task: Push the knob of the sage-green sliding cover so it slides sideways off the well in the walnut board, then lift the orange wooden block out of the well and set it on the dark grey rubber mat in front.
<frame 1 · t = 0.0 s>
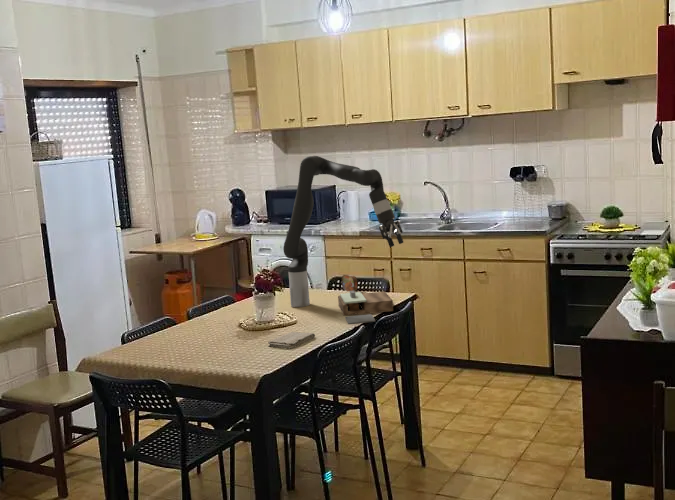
hand: (396, 244, 344), 31 cm above the table, tool tilted 20°, fingers open, 8 cm apart
cover: (352, 295, 362), point 7 cm above the table, slide at 0.0 cm
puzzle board: (366, 308, 363), on the table
tin: (350, 291, 407), on the table
washcloth: (291, 343, 313), on the table
rubber mat: (360, 319, 342), on the table
block: (353, 309, 363), resting in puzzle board
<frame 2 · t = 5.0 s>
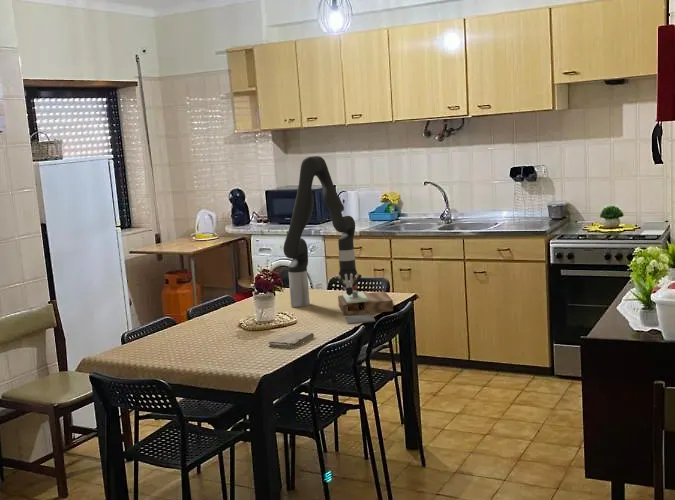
hand: (349, 295, 361), 7 cm above the table, tool pointing down, fingers closed
cover: (355, 294, 362), point 7 cm above the table, slide at 1.1 cm, touching gripper
everything else where it was.
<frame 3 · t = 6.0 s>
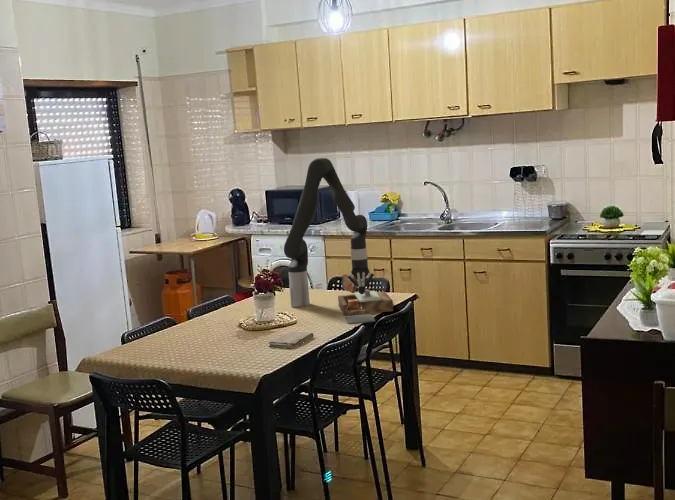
hand: (361, 293, 362), 7 cm above the table, tool pointing down, fingers closed
cover: (367, 293, 362), point 7 cm above the table, slide at 6.9 cm, touching gripper
everything else where it was.
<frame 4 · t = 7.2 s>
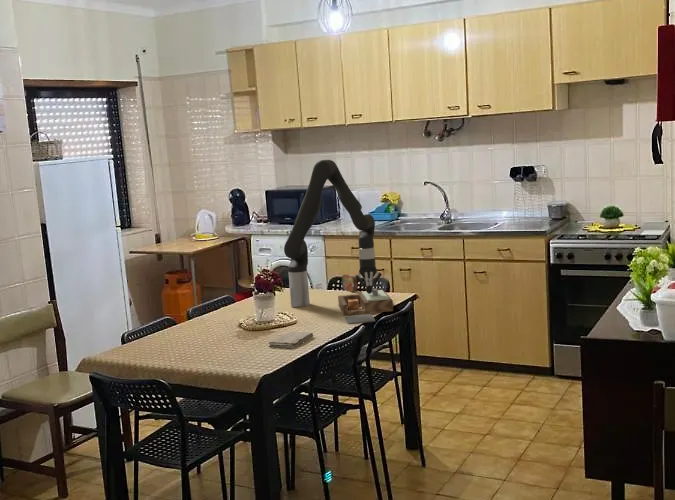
hand: (369, 293, 362), 7 cm above the table, tool pointing down, fingers closed
cover: (374, 293, 363), point 7 cm above the table, slide at 10.6 cm, touching gripper
everything else where it was.
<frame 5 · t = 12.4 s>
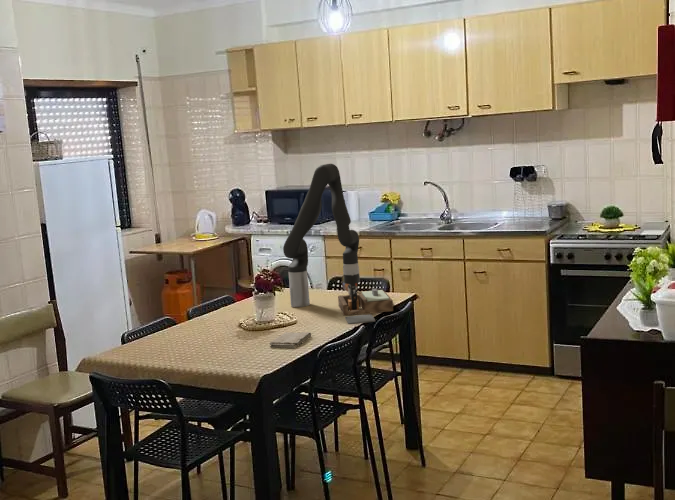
hand: (353, 308, 363), 1 cm above the table, tool pointing down, fingers closed on block, 4 cm apart
cover: (374, 293, 363), point 7 cm above the table, slide at 10.6 cm
block: (353, 309, 363), resting in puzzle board, touching gripper
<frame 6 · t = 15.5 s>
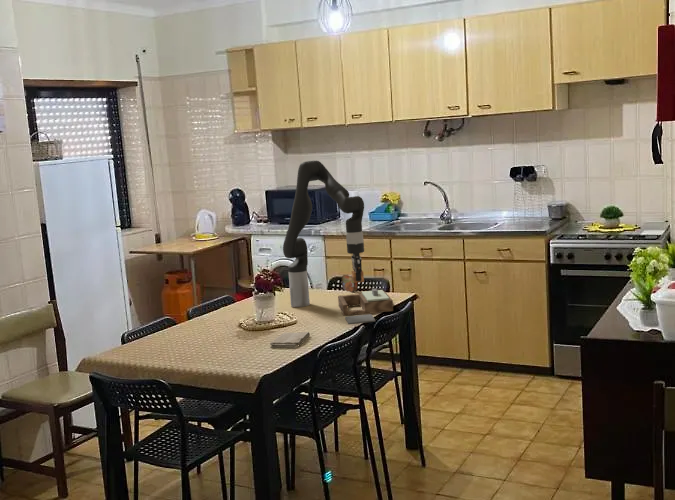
hand: (358, 279, 340), 18 cm above the table, tool pointing down, fingers closed on block, 4 cm apart
block: (358, 281, 341), point 17 cm above the table, touching gripper
when the fingers open (3 cm above the table, at t = 18.9 s): block drops 1 cm, resting on rubber mat.
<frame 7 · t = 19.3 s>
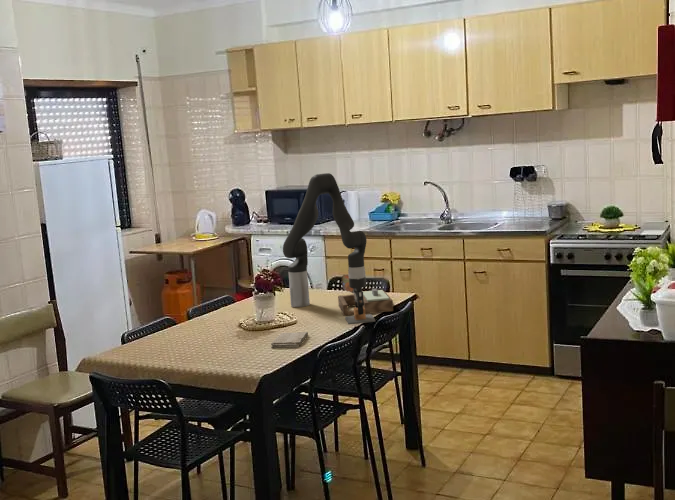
hand: (359, 312, 342), 3 cm above the table, tool pointing down, fingers open, 8 cm apart
block: (360, 318, 342), point 1 cm above the table, touching rubber mat
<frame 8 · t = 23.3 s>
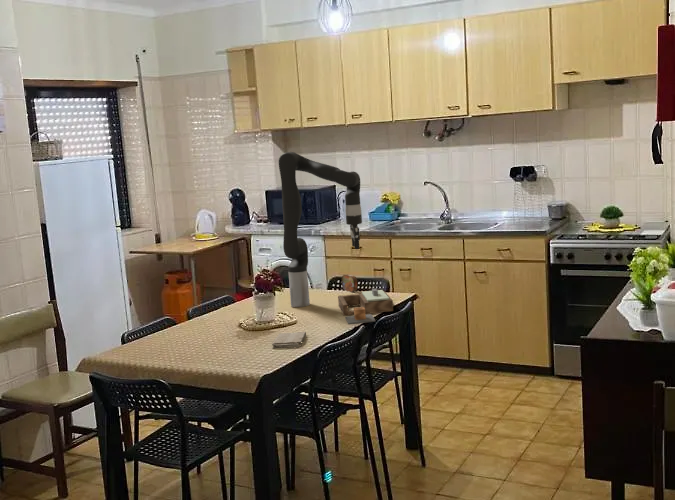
hand: (355, 247, 367), 28 cm above the table, tool pointing down, fingers open, 8 cm apart
at the end: cover slide at 10.6 cm; block inside the target area on the rubber mat (0.0 cm from its centre), point 0.6 cm above the rubber mat's base; block tilted 0° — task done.
